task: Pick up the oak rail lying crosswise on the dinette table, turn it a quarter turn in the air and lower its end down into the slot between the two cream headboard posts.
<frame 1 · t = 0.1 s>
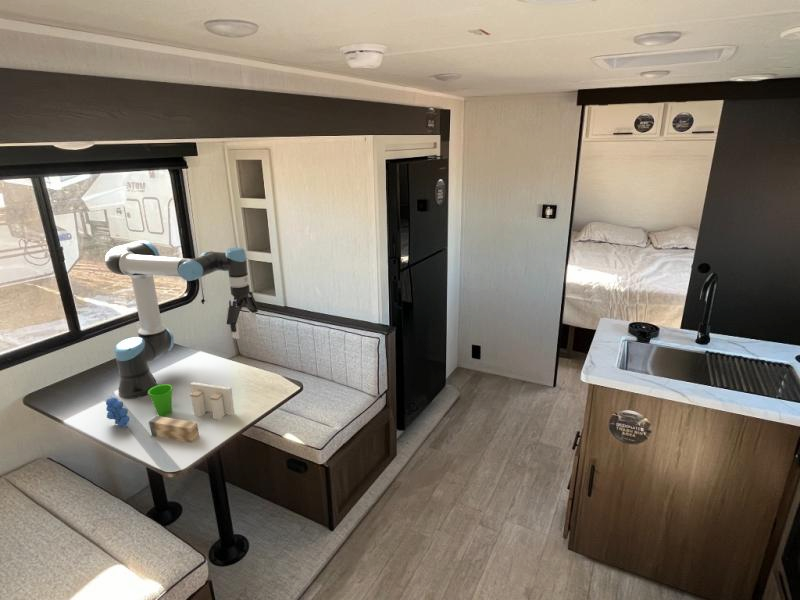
hand: (245, 332, 199), 28 cm above the table, fingers open, 13 cm apart
cup: (164, 413, 189), on the table
headboard: (209, 415, 187), on the table
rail: (175, 435, 175), on the table
grapes: (118, 426, 181), on the table
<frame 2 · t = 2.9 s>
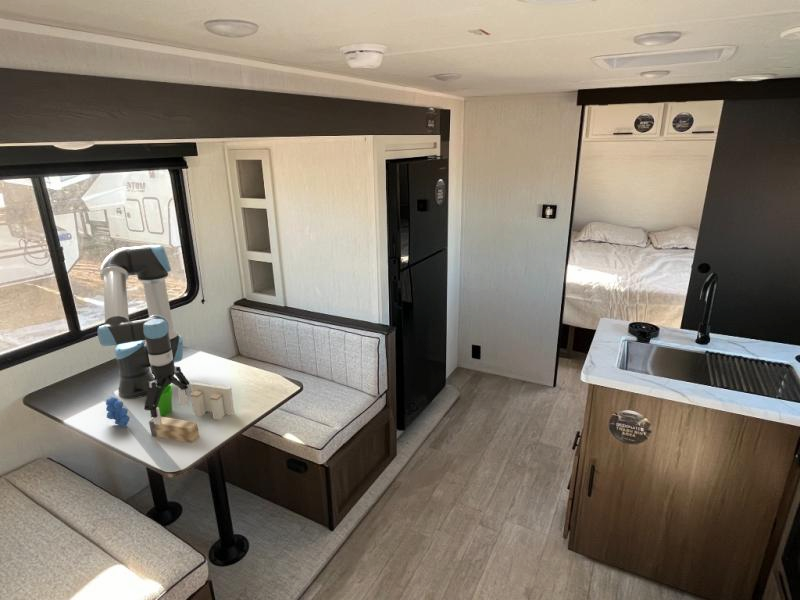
hand: (171, 413, 171), 10 cm above the table, fingers open, 13 cm apart
nothing on the table moved.
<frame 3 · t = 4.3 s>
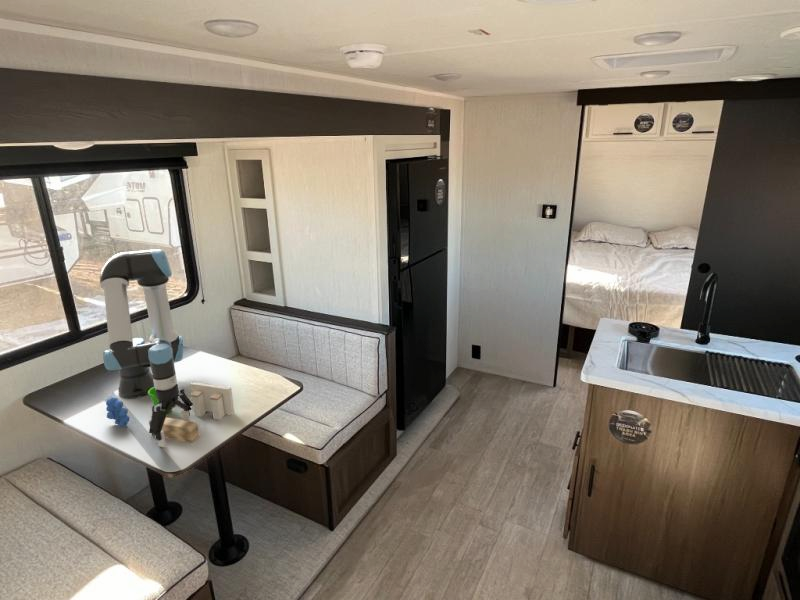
hand: (175, 435, 174), 0 cm above the table, fingers open, 13 cm apart
nothing on the table moved.
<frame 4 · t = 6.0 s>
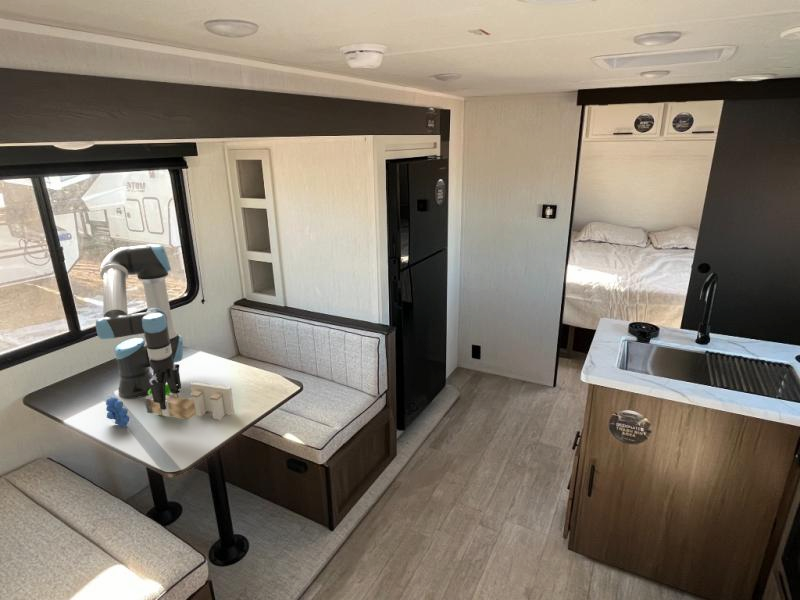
hand: (171, 411, 172), 10 cm above the table, fingers closed on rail, 4 cm apart
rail: (171, 413, 172), point 10 cm above the table, touching gripper
everything else where it was.
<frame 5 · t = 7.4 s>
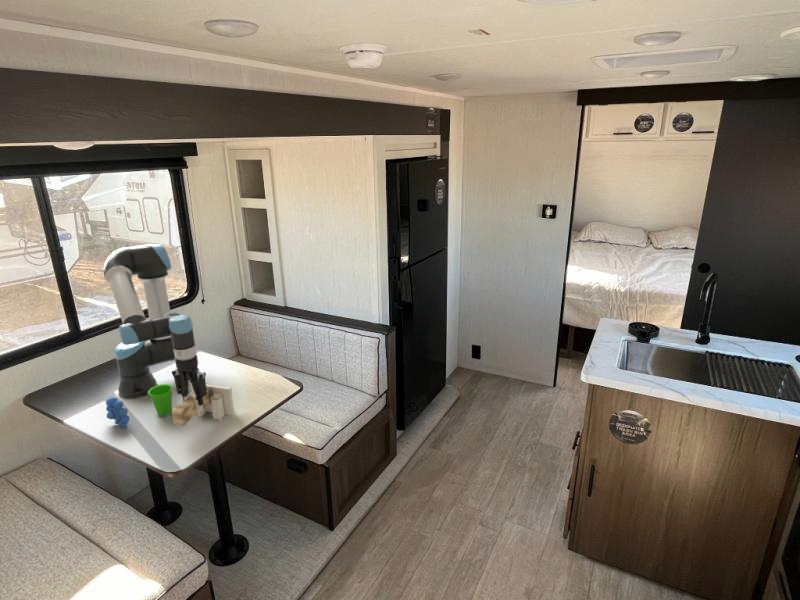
hand: (195, 411, 178), 7 cm above the table, fingers closed on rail, 4 cm apart
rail: (194, 412, 178), point 6 cm above the table, touching gripper
everything else where it was.
when the fingers open (0 cm above the table, at t = 9.1 s): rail stays where it is, on the table.
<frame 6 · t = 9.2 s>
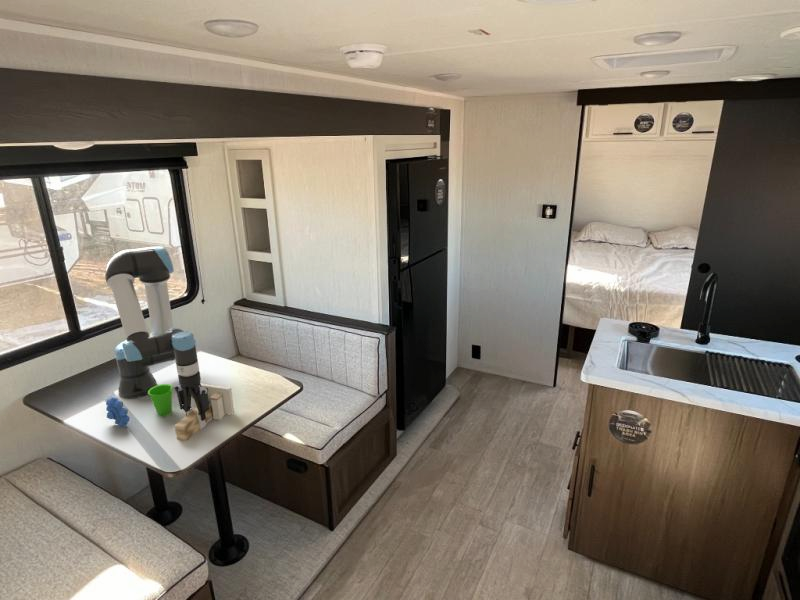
hand: (197, 425, 180), 0 cm above the table, fingers open, 4 cm apart
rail: (197, 426, 180), on the table, touching gripper
everything else where it was.
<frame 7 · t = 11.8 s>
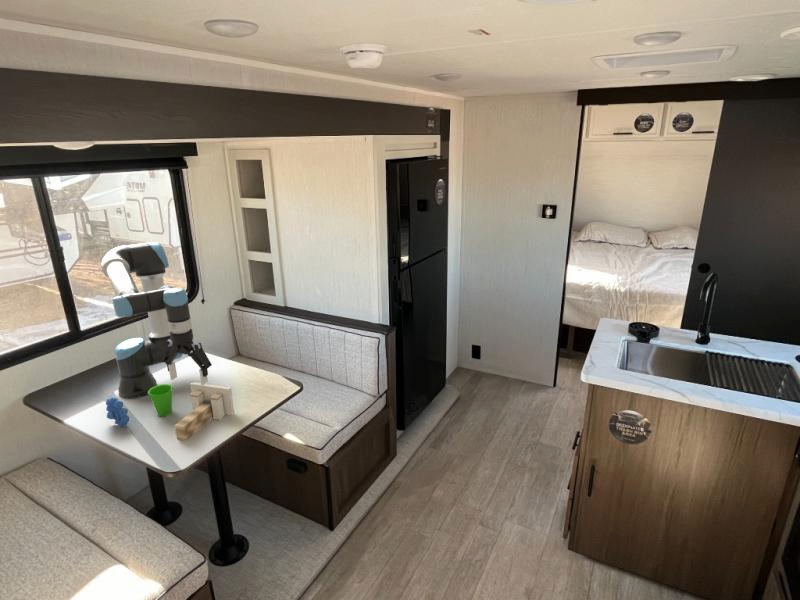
hand: (189, 381, 176), 19 cm above the table, fingers open, 13 cm apart
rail: (197, 426, 180), on the table
everything else where it was.
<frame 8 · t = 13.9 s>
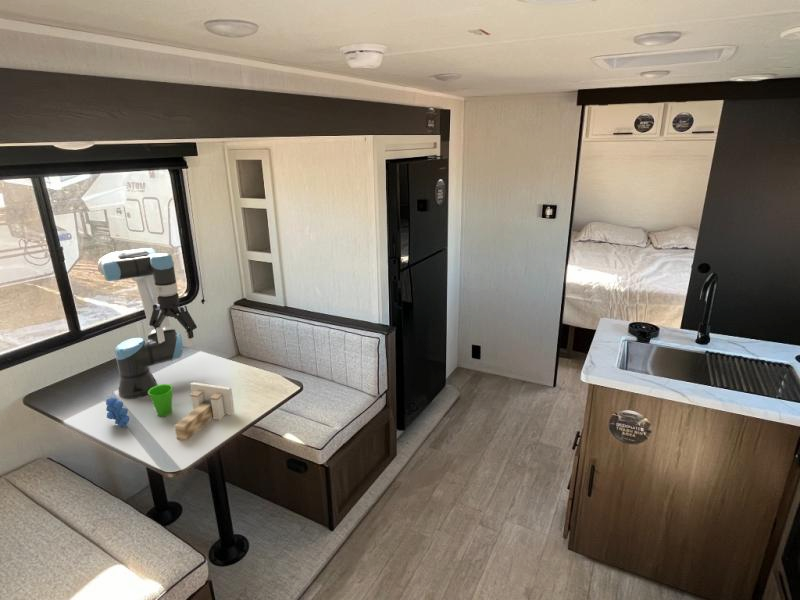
hand: (176, 343, 185), 29 cm above the table, fingers open, 13 cm apart
nothing on the table moved.
at the end: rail 0.1 cm from the target spot on the table beside the headboard, on the table; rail tilted 0°; the gripper is holding nothing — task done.
